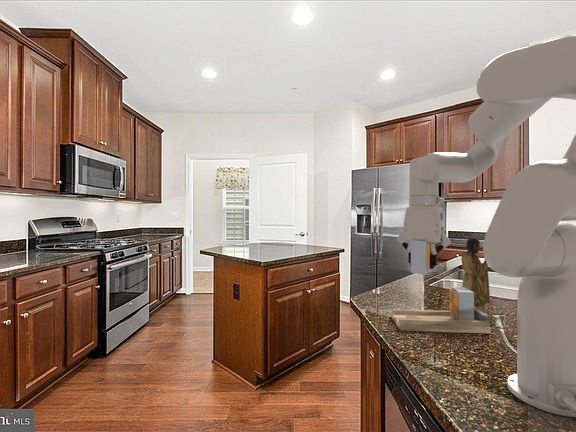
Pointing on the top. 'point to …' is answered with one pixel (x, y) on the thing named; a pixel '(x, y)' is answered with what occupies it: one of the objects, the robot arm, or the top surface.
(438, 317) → the jaw rail
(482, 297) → the statue
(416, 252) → the grey upright block
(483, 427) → the top surface
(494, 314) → the top surface
